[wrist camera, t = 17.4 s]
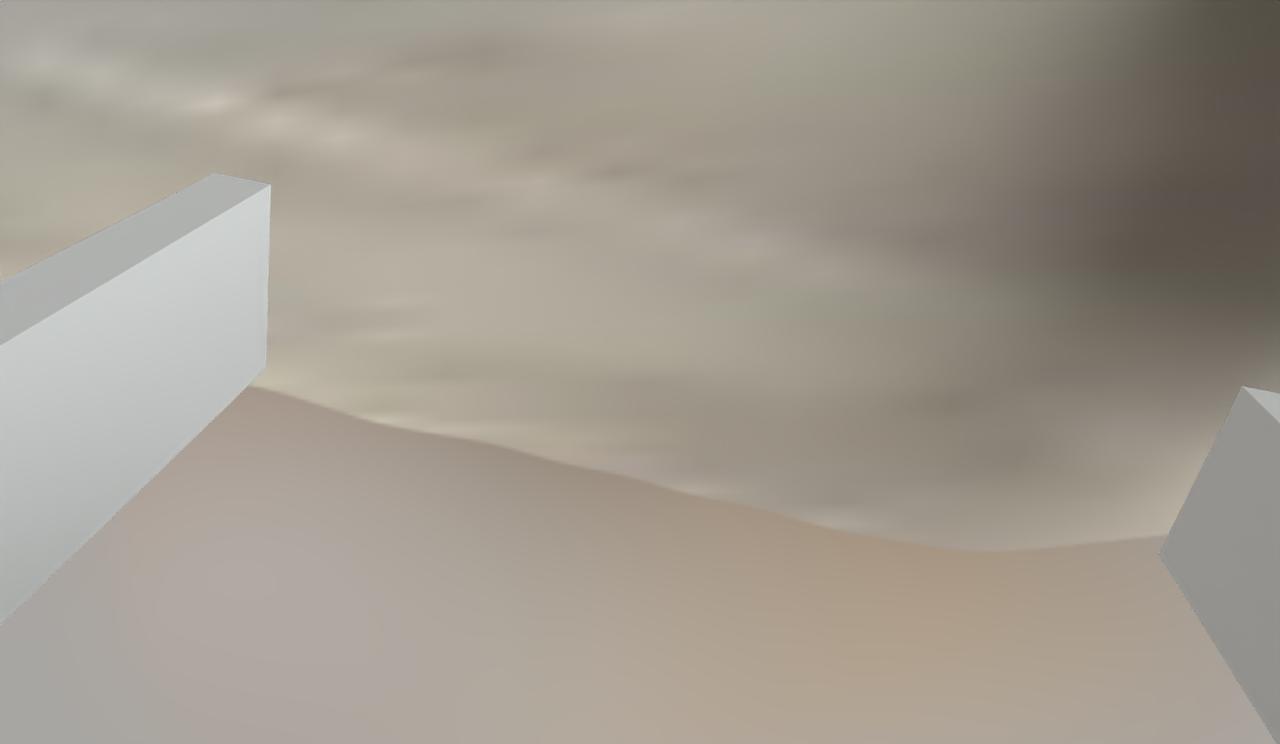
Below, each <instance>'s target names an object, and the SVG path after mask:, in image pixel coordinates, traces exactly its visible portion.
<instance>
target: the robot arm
mask: <svg viewBox="0 0 1280 744" xmlns="http://www.w3.org/2000/svg"><path fill="white" fill-rule="evenodd" d="M270 200H271V184H267V183H262V182H257V181H252V180H247V179H242V178H238V177H233V176H228V175H223V174H218V173H213V174H211V175H209V176H207V177H206V178H204V179H202V180H200V181H198V182H196V183H194V184H192V185H190V186H188V187H186V188H184V189H182V190H180V191H178V192H176V193H174V194H172V195H170V196H168V197H166V198H164V199H162V200H161V201H159V202H157V203H155V204H153V205H151V206H149V207H147V208H145V209H143V210H141V211H139V212H137V213H135V214H133V215H131V216H129V217H127V218H125V219H123V220H121V221H119V222H117V223H115V224H114V225H112V226H110V227H108V228H106V229H104V230H102V231H100V232H98V233H96V234H94V235H92V236H90V237H88V238H86V239H84V240H82V241H80V242H78V243H76V244H74V245H72V246H70V247H68V248H67V249H65V250H63V251H61V252H59V253H57V254H55V255H53V256H51V257H49V258H47V259H45V260H43V261H41V262H39V263H37V264H35V265H33V266H31V267H29V268H27V269H25V270H23V271H21V272H20V273H18V274H16V275H14V276H12V277H10V278H8V279H6V280H4V281H2V282H0V626H1V625H2V624H3V623H4V622H5V621H6V620H7V619H8V618H9V617H10V616H11V615H12V614H13V613H14V612H15V611H16V610H17V609H18V608H19V607H20V606H21V605H23V604H24V603H25V601H26V600H28V599H29V598H30V597H31V596H32V595H33V594H34V593H35V592H36V591H37V590H38V589H39V588H40V587H41V586H42V585H43V584H44V583H45V582H46V581H47V580H48V579H49V578H50V577H51V576H52V575H53V574H54V573H55V572H57V571H58V570H59V569H60V568H61V567H62V566H63V565H64V564H65V563H66V562H67V561H68V560H69V559H70V558H71V557H72V556H73V555H74V554H75V553H76V552H77V551H78V550H79V549H80V548H81V547H82V546H83V545H84V544H85V543H86V542H87V541H89V540H90V539H91V538H92V537H93V536H94V535H95V534H96V533H97V532H98V531H99V530H100V529H101V528H102V527H103V526H104V525H105V524H106V523H107V522H108V521H109V520H110V519H111V518H112V517H113V516H114V515H115V514H116V513H117V512H118V511H119V510H120V509H121V508H123V507H124V506H125V505H126V504H127V503H128V502H129V501H130V500H131V499H132V498H133V497H134V496H135V495H136V494H137V493H138V492H139V491H140V490H141V489H142V488H143V487H144V486H145V485H146V484H147V483H148V482H149V481H150V480H151V479H152V478H153V477H154V476H155V475H157V473H159V472H160V471H161V470H162V469H163V468H164V467H165V466H166V465H167V464H168V463H169V462H170V461H171V460H172V459H173V458H174V457H175V456H176V455H177V454H178V453H179V452H180V451H181V450H182V449H183V448H184V447H185V446H186V445H187V444H188V443H189V442H191V440H193V439H194V438H195V437H196V436H197V435H198V434H199V433H200V432H201V431H202V430H203V429H204V428H205V427H206V426H207V425H208V424H209V423H210V422H211V421H212V420H213V419H214V418H215V417H216V416H217V415H218V414H219V413H220V412H221V411H222V410H223V409H225V407H227V406H228V405H229V404H230V403H231V402H232V401H233V400H234V399H235V398H236V397H237V396H238V395H239V394H240V393H241V392H242V391H243V390H244V389H245V388H246V387H247V386H248V385H249V384H250V383H251V382H252V381H253V380H254V379H255V378H257V377H258V376H259V375H260V374H261V373H262V372H263V371H264V370H265V369H266V359H267V319H268V279H269V240H270ZM1159 557H1160V558H1161V560H1162V561H1163V563H1164V564H1165V566H1166V568H1167V569H1168V571H1169V572H1170V574H1171V576H1172V577H1173V579H1174V580H1175V582H1176V584H1177V585H1178V587H1179V588H1180V590H1181V592H1182V593H1183V595H1184V596H1185V598H1186V600H1187V601H1188V603H1189V604H1190V606H1191V608H1192V609H1193V611H1194V612H1195V614H1196V615H1197V617H1198V619H1199V620H1200V622H1201V624H1202V625H1203V627H1204V628H1205V630H1206V632H1207V633H1208V634H1209V636H1210V638H1211V639H1212V641H1213V643H1214V644H1215V646H1216V648H1217V649H1218V651H1219V652H1220V654H1221V655H1222V657H1223V659H1224V660H1225V662H1226V664H1227V665H1228V667H1229V668H1230V670H1231V671H1232V673H1233V675H1234V676H1235V678H1236V679H1237V681H1238V683H1239V684H1240V686H1241V687H1242V689H1243V691H1244V692H1245V694H1246V695H1247V697H1248V699H1249V700H1250V702H1251V703H1252V705H1253V707H1254V708H1255V710H1256V711H1257V713H1258V715H1259V716H1260V718H1261V719H1262V721H1263V722H1264V724H1265V726H1266V727H1267V729H1268V730H1269V732H1270V734H1271V735H1272V737H1273V739H1274V740H1275V742H1276V743H1277V744H1280V394H1278V393H1273V392H1269V391H1264V390H1259V389H1254V388H1249V387H1245V386H1242V387H1241V389H1240V391H1239V393H1238V395H1237V397H1236V399H1235V401H1234V403H1233V405H1232V407H1231V409H1230V411H1229V413H1228V415H1227V417H1226V419H1225V421H1224V423H1223V425H1222V427H1221V429H1220V431H1219V433H1218V436H1217V438H1216V440H1215V442H1214V444H1213V446H1212V448H1211V450H1210V452H1209V454H1208V456H1207V458H1206V460H1205V462H1204V464H1203V466H1202V468H1201V470H1200V472H1199V474H1198V476H1197V478H1196V480H1195V482H1194V484H1193V486H1192V488H1191V490H1190V492H1189V494H1188V496H1187V498H1186V500H1185V502H1184V504H1183V506H1182V508H1181V510H1180V512H1179V514H1178V516H1177V518H1176V520H1175V522H1174V524H1173V526H1172V528H1171V531H1170V533H1169V535H1168V537H1167V539H1166V541H1165V543H1164V545H1163V547H1162V549H1161V551H1160V553H1159Z"/></svg>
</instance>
